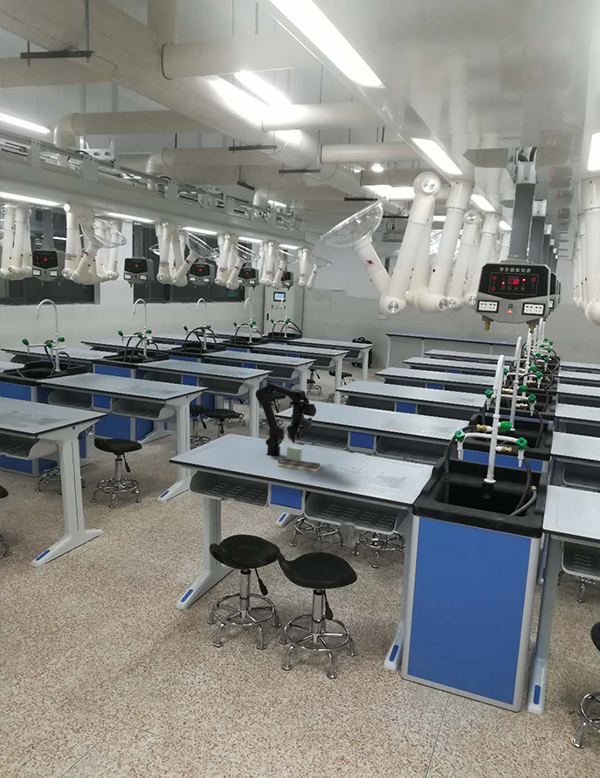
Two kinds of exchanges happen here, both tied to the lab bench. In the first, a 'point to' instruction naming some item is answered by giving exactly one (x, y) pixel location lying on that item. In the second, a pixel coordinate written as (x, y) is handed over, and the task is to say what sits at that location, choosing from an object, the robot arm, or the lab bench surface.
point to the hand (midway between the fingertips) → (295, 440)
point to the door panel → (294, 453)
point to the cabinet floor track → (299, 464)
